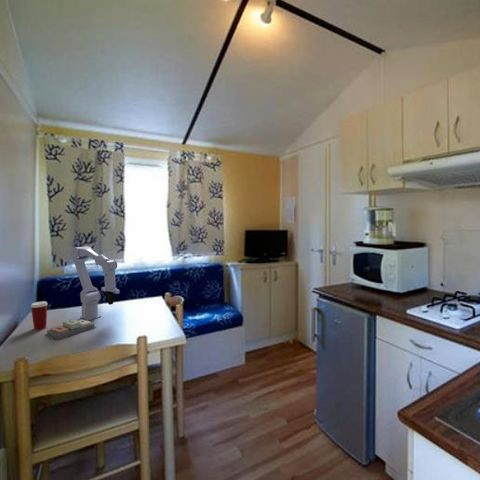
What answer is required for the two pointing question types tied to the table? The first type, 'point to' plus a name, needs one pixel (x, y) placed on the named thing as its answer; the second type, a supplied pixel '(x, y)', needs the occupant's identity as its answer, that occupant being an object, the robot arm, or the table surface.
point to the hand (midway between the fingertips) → (110, 304)
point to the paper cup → (39, 315)
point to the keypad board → (70, 332)
